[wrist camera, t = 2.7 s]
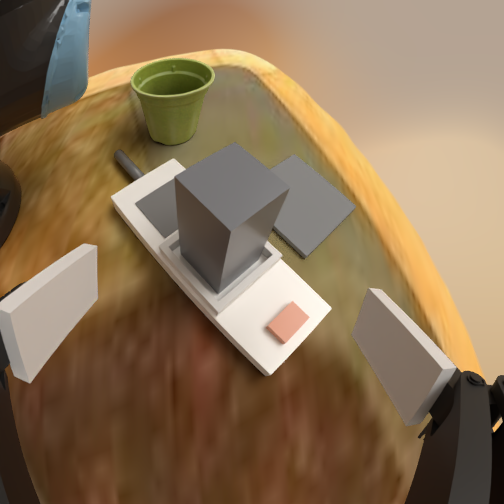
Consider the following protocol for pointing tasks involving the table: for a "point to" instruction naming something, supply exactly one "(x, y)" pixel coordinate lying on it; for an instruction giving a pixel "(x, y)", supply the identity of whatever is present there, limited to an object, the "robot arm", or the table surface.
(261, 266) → the white slab
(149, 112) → the plant pot
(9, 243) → the table surface
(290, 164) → the pad
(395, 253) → the table surface
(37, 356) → the robot arm
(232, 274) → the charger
